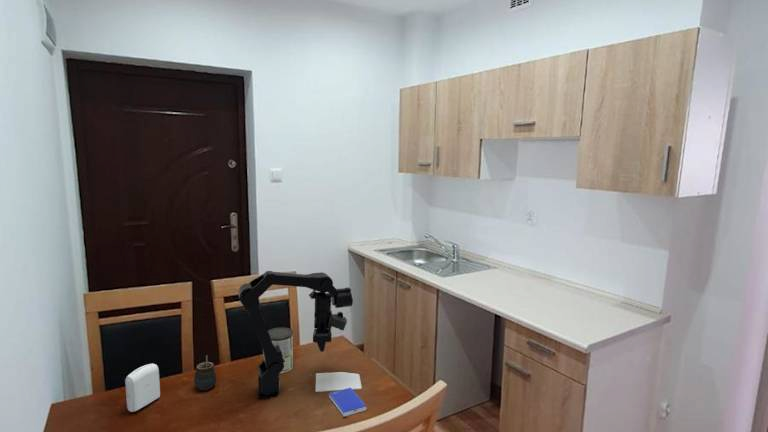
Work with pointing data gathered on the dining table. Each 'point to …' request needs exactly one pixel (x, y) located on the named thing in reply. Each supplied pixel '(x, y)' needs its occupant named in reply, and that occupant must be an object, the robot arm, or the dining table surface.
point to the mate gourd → (205, 375)
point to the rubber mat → (337, 381)
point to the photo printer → (142, 387)
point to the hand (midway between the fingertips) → (322, 351)
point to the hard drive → (347, 401)
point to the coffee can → (283, 345)
